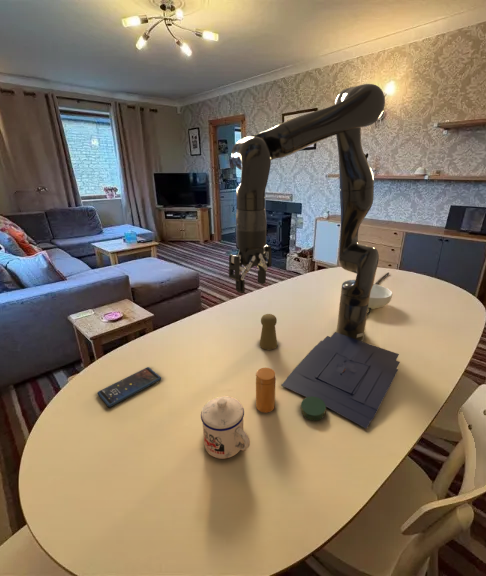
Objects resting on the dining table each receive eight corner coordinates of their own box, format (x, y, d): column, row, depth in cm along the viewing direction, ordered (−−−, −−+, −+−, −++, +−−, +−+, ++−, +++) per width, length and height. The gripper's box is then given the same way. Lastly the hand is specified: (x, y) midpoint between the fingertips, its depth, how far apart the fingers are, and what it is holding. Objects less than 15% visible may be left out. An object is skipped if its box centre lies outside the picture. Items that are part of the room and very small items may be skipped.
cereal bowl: (393, 302, 134) (396, 287, 132) (385, 317, 121) (388, 301, 119) (354, 294, 143) (356, 280, 140) (343, 307, 130) (344, 292, 127)
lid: (312, 424, 73) (312, 419, 72) (296, 408, 77) (296, 403, 76) (330, 412, 75) (330, 407, 75) (313, 397, 80) (314, 392, 79)
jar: (262, 396, 81) (262, 364, 77) (278, 403, 79) (279, 371, 75) (252, 407, 77) (252, 375, 74) (268, 415, 75) (269, 382, 71)
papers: (404, 363, 92) (406, 354, 90) (366, 437, 72) (368, 426, 70) (329, 336, 106) (330, 328, 104) (280, 392, 86) (280, 382, 84)
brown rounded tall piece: (275, 350, 101) (276, 321, 96) (257, 348, 102) (257, 319, 97) (278, 340, 106) (279, 312, 102) (261, 339, 107) (261, 310, 103)
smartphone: (161, 377, 87) (108, 406, 77) (162, 379, 87) (109, 408, 77) (148, 366, 92) (96, 391, 81) (148, 368, 92) (96, 394, 82)
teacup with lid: (194, 443, 68) (190, 402, 63) (225, 419, 74) (223, 380, 69) (233, 478, 60) (231, 434, 56) (263, 448, 67) (263, 406, 62)
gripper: (242, 234, 69) (244, 300, 75) (280, 224, 79) (278, 283, 85) (219, 229, 73) (222, 292, 80) (257, 221, 83) (257, 277, 90)
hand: (251, 287), depth 82 cm, fingers open, 8 cm apart
